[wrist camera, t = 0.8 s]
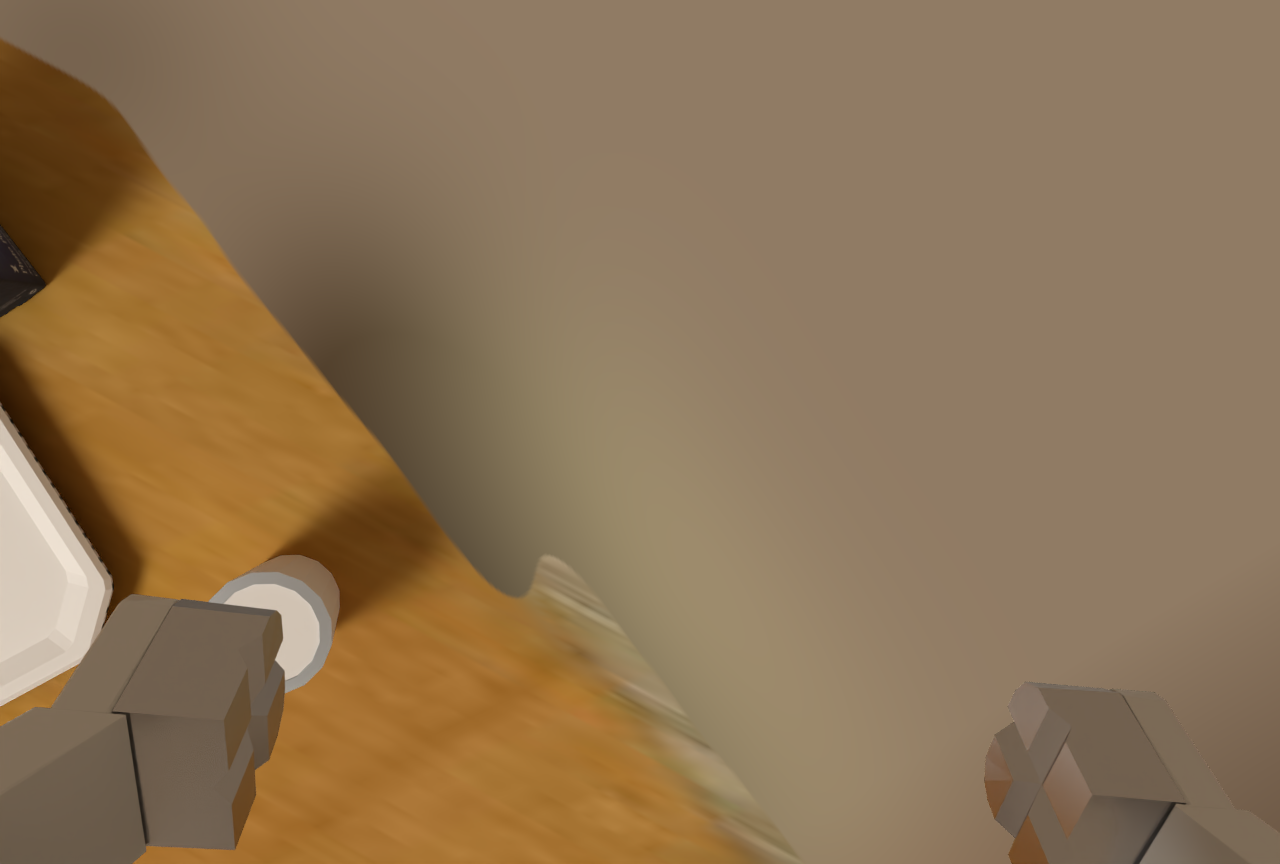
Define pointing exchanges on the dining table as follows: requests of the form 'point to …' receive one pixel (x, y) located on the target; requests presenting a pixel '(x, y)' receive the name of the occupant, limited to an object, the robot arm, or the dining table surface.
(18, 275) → the small box
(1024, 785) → the robot arm
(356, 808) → the dining table surface
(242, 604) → the white cup
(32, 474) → the plate
